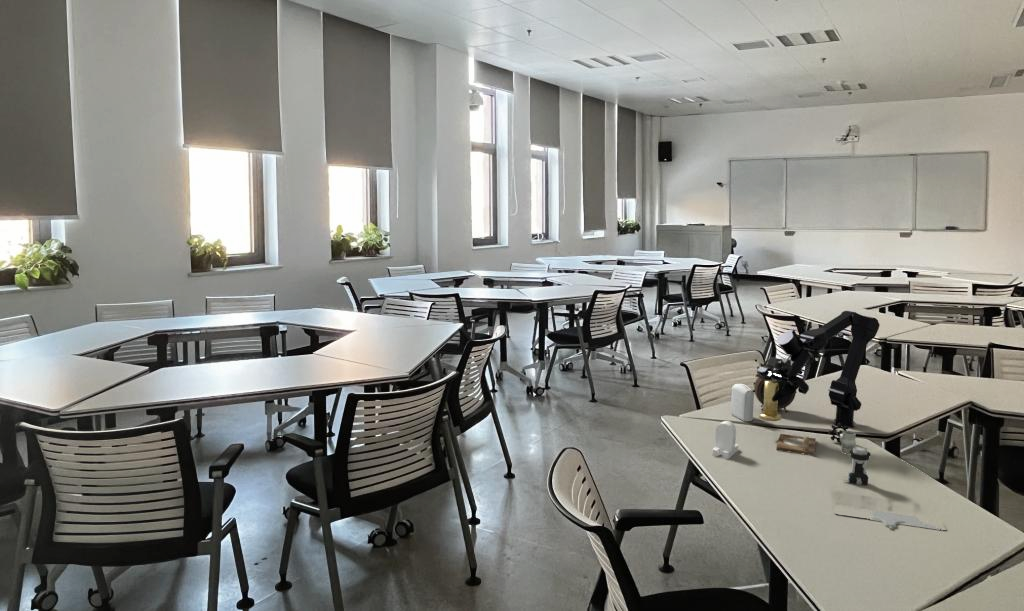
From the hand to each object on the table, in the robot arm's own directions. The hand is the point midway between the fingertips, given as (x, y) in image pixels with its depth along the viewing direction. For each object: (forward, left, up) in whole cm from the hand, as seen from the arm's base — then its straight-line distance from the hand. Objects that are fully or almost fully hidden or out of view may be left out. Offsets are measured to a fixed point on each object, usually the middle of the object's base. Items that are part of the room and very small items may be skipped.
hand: (767, 398), depth 236 cm
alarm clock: (-33, 0, -13) cm, 35 cm away
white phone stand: (+20, -10, -14) cm, 27 cm away
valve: (0, +24, -14) cm, 27 cm away
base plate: (+4, +10, -13) cm, 17 cm away
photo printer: (-19, -10, -14) cm, 25 cm away
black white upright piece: (+29, +27, -13) cm, 42 cm away
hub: (-2, +1, -7) cm, 7 cm away
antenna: (+45, +34, -14) cm, 58 cm away
